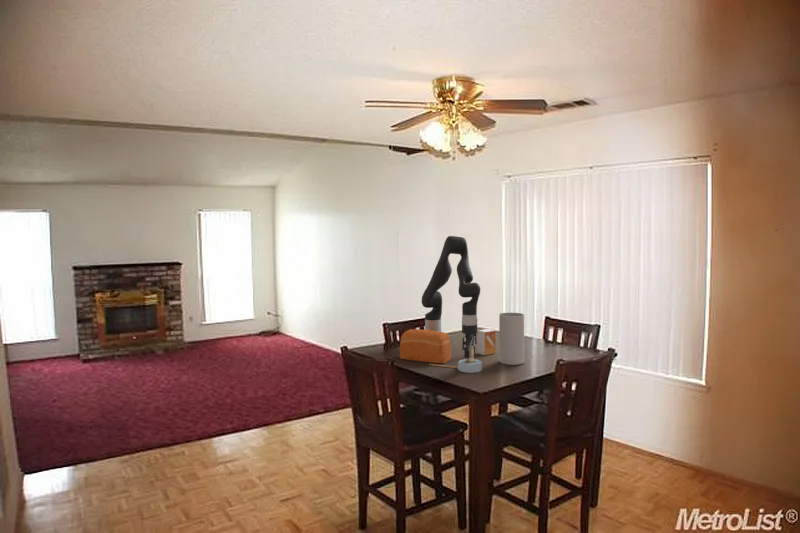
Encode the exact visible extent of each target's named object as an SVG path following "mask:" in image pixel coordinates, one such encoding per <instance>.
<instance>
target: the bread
mask: <svg viewBox="0 0 800 533" xmlns="http://www.w3.org/2000/svg"><path fill="white" fill-rule="evenodd" d="M451 349H452V347H451V341H450V336H449V334H448V333H446V332H444V331H443V332H442V331H441V332H438V331H431V330H425V329H416V328H415V329H408V330H406V331H404V333H402V335H401V336H400V343H399V358H400V360H405V359H406V361H413V362H414V361H416V362H424V363H429V364H445V363H448V362H449V361H450V360H451V358H452V352H451Z"/></svg>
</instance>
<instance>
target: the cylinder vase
mask: <svg viewBox="0 0 800 533" xmlns="http://www.w3.org/2000/svg"><path fill="white" fill-rule="evenodd" d="M498 322H499V324H498V325H499V327H498V329H499V330H498V331H499V332H498V333H499V340H498V342H499V346H498V347H499V348H498V349H499V362H500V364H503V365H505V366H506V365H507V366H518V365H522V364H524V362H525V313H521V312H502V313H499V319H498Z"/></svg>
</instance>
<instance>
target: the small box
mask: <svg viewBox="0 0 800 533" xmlns="http://www.w3.org/2000/svg"><path fill="white" fill-rule="evenodd" d="M476 334H477V344H476V346H477V351H476V352H477V354H478V355H482V356H489V355H495V354H496V330H495V329H490V328H485V329H484V328H483V329H480V330H479V329H477V333H476Z"/></svg>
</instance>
